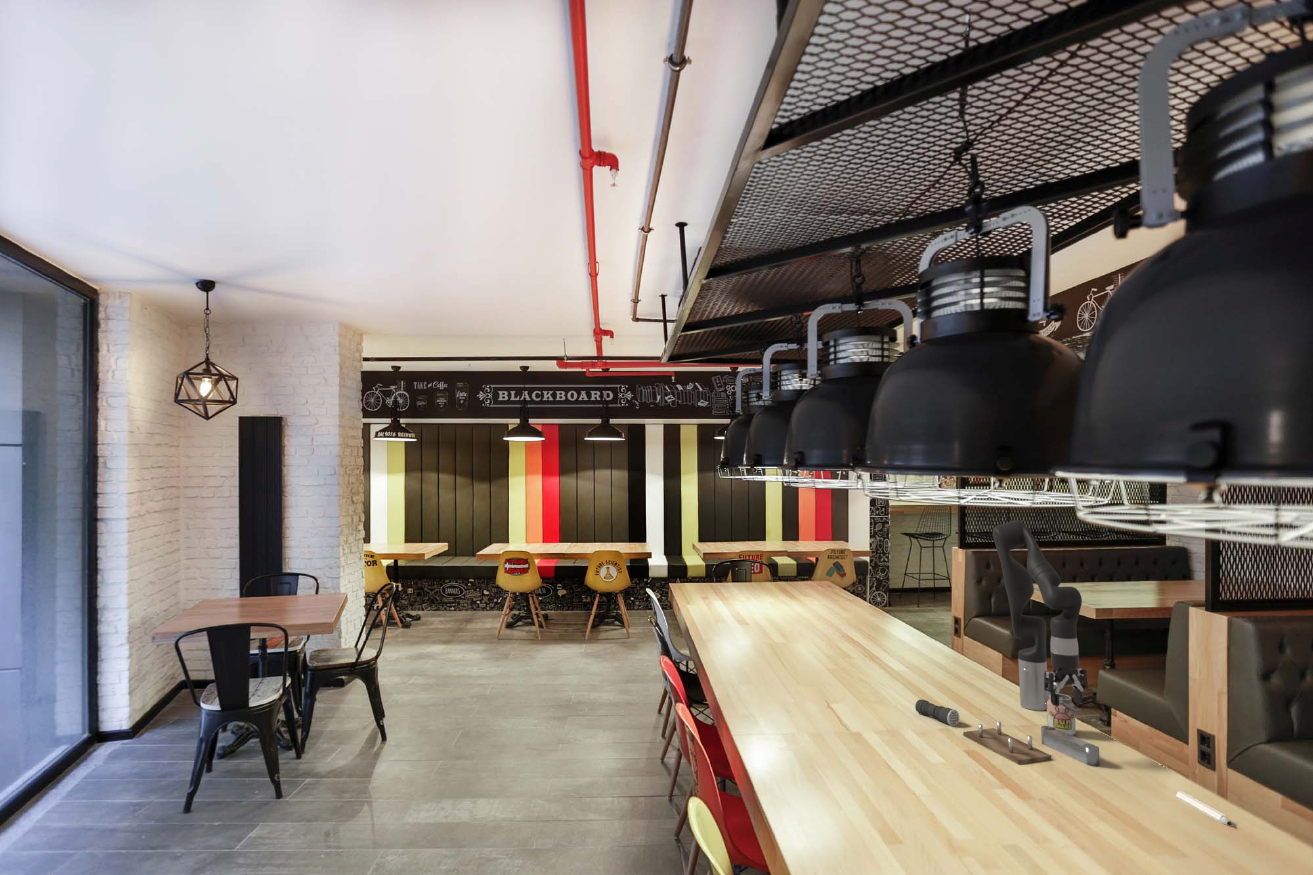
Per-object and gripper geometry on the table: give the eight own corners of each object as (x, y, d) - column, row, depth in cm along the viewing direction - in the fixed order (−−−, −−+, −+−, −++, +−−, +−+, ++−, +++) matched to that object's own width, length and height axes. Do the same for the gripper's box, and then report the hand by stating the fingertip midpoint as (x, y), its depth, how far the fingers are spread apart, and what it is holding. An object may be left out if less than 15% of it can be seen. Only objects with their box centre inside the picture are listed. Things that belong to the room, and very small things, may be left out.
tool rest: (993, 731, 234) (992, 715, 234) (1051, 759, 211) (1050, 741, 211) (963, 735, 231) (962, 719, 231) (1018, 764, 208) (1017, 746, 208)
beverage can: (1078, 730, 234) (1076, 694, 234) (1081, 739, 226) (1079, 702, 227) (1046, 726, 238) (1045, 691, 238) (1049, 735, 230) (1047, 698, 231)
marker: (1233, 833, 169) (1179, 801, 185) (1240, 828, 169) (1185, 797, 185) (1228, 823, 169) (1174, 793, 185) (1235, 819, 169) (1180, 788, 185)
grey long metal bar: (1048, 740, 225) (1048, 725, 226) (1103, 765, 206) (1102, 748, 206) (1038, 742, 224) (1038, 726, 225) (1092, 767, 205) (1091, 750, 205)
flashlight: (913, 714, 253) (913, 699, 253) (924, 711, 255) (924, 696, 255) (948, 727, 239) (948, 711, 239) (959, 724, 241) (959, 708, 242)
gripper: (1072, 646, 222) (1075, 698, 221) (1036, 650, 219) (1038, 702, 218) (1093, 652, 215) (1095, 705, 214) (1055, 655, 211) (1057, 710, 211)
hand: (1066, 704), depth 216 cm, fingers open, 8 cm apart
